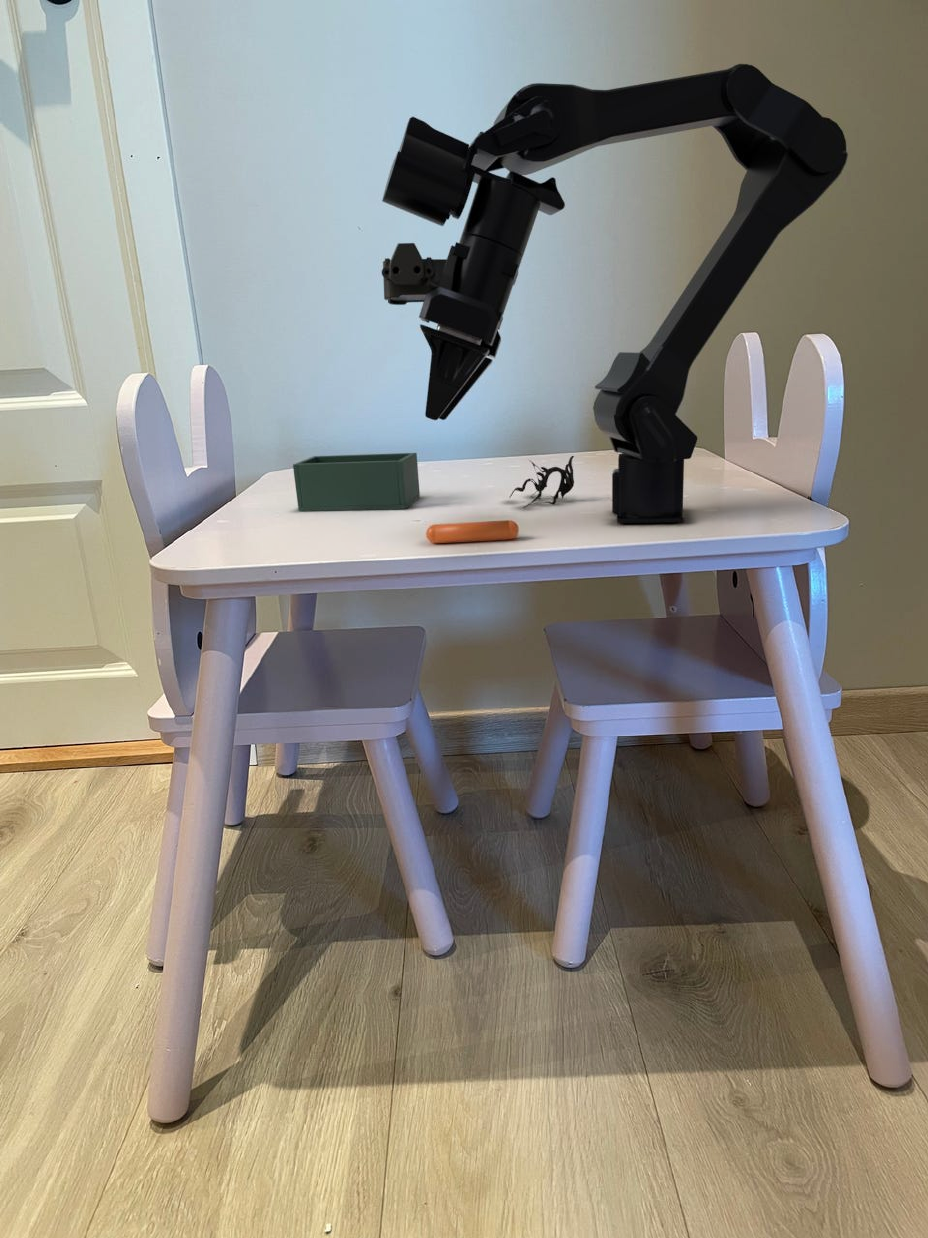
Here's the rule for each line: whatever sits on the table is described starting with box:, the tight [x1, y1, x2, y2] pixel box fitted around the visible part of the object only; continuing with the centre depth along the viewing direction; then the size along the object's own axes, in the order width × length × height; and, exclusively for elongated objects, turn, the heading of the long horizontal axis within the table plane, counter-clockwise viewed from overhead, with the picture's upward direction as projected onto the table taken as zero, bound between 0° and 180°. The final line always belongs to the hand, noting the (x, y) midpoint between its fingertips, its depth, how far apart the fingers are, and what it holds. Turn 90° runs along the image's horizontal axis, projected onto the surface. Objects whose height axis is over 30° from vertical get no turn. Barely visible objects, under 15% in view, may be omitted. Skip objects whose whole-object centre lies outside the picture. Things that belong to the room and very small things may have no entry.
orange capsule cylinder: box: [425, 519, 520, 544], centre depth 78 cm, size 9×2×2 cm, turn 90°
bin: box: [292, 452, 421, 512], centre depth 99 cm, size 13×7×6 cm, turn 79°
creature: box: [508, 455, 575, 509], centre depth 94 cm, size 8×5×8 cm
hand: (435, 418), depth 77 cm, fingers open, 9 cm apart
